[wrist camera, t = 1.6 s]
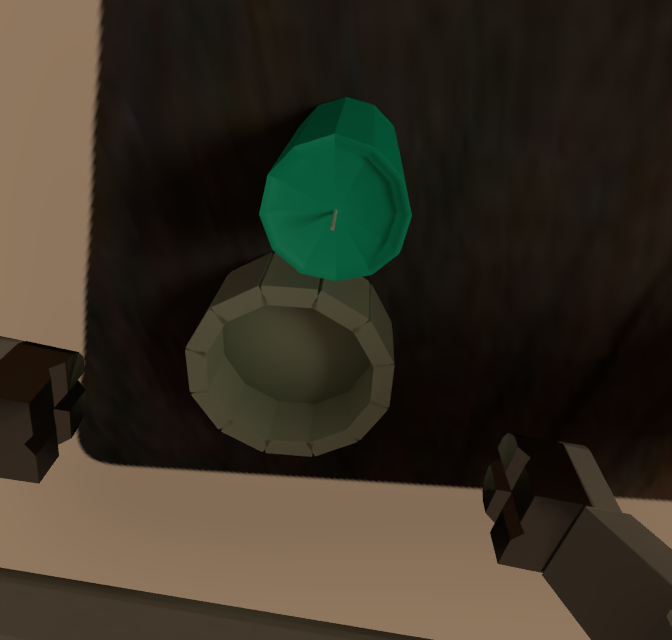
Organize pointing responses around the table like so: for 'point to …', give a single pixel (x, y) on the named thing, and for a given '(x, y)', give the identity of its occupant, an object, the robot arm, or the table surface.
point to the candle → (338, 193)
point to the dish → (292, 359)
